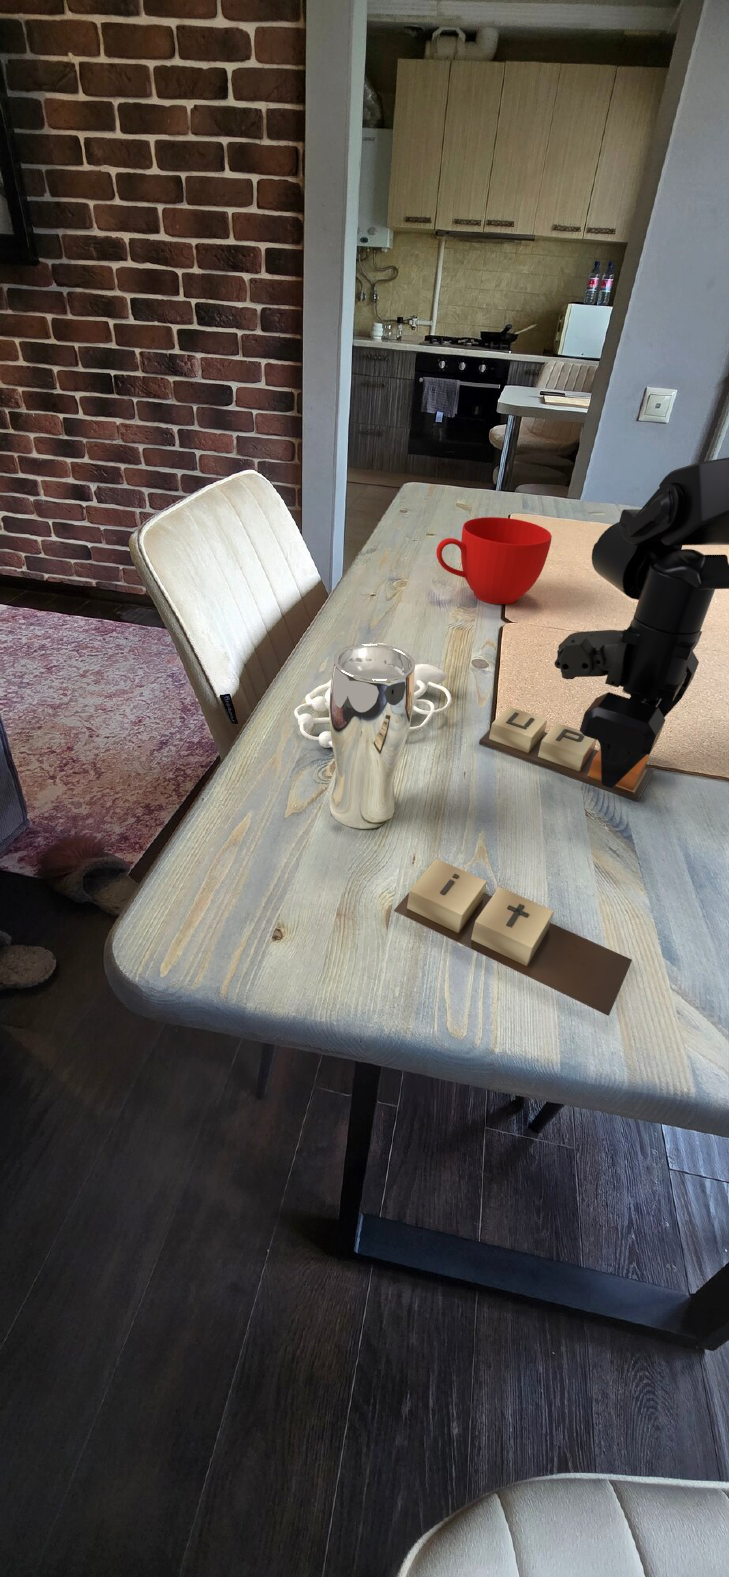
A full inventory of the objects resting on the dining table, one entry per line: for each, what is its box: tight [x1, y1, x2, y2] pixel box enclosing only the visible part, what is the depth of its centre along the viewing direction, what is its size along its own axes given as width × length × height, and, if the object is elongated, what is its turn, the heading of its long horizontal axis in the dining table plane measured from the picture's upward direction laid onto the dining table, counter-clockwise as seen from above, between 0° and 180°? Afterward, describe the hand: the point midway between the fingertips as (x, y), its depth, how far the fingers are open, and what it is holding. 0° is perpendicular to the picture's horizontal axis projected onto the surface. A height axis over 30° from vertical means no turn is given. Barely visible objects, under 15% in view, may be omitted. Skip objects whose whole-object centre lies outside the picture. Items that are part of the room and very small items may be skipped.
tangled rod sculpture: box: [293, 642, 453, 749], centre depth 81 cm, size 19×14×4 cm
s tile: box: [589, 748, 651, 790], centre depth 74 cm, size 4×4×2 cm
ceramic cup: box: [435, 516, 553, 605], centre depth 109 cm, size 13×17×10 cm
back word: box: [478, 706, 655, 803], centre depth 76 cm, size 17×6×3 cm, turn 58°
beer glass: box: [328, 642, 416, 830], centre depth 63 cm, size 7×7×15 cm
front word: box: [393, 858, 633, 1017], centre depth 55 cm, size 17×6×3 cm, turn 58°
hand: (619, 766), depth 74 cm, fingers open, 8 cm apart
